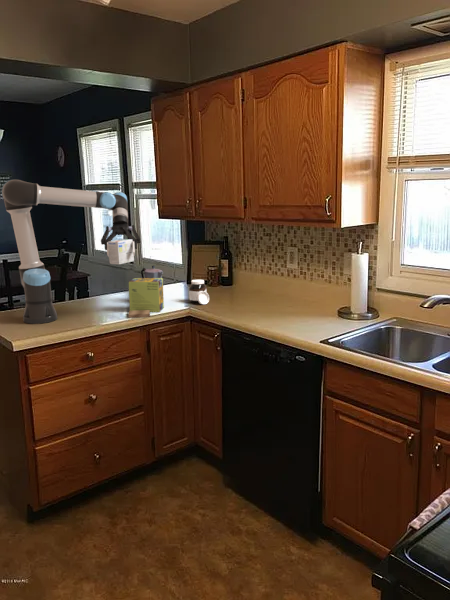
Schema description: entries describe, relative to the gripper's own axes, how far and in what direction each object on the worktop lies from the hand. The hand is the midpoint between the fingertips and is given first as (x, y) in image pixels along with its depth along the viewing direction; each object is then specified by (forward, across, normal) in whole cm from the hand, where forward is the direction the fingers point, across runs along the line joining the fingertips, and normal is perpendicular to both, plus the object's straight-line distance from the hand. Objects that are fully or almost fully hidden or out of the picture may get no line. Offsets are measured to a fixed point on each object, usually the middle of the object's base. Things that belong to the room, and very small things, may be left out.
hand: (121, 254), depth 250 cm
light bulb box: (+1, 0, -5) cm, 5 cm away
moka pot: (+4, -14, -39) cm, 41 cm away
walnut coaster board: (+23, -7, -19) cm, 30 cm away
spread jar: (+8, -38, -35) cm, 53 cm away
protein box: (+16, -10, -27) cm, 33 cm away
